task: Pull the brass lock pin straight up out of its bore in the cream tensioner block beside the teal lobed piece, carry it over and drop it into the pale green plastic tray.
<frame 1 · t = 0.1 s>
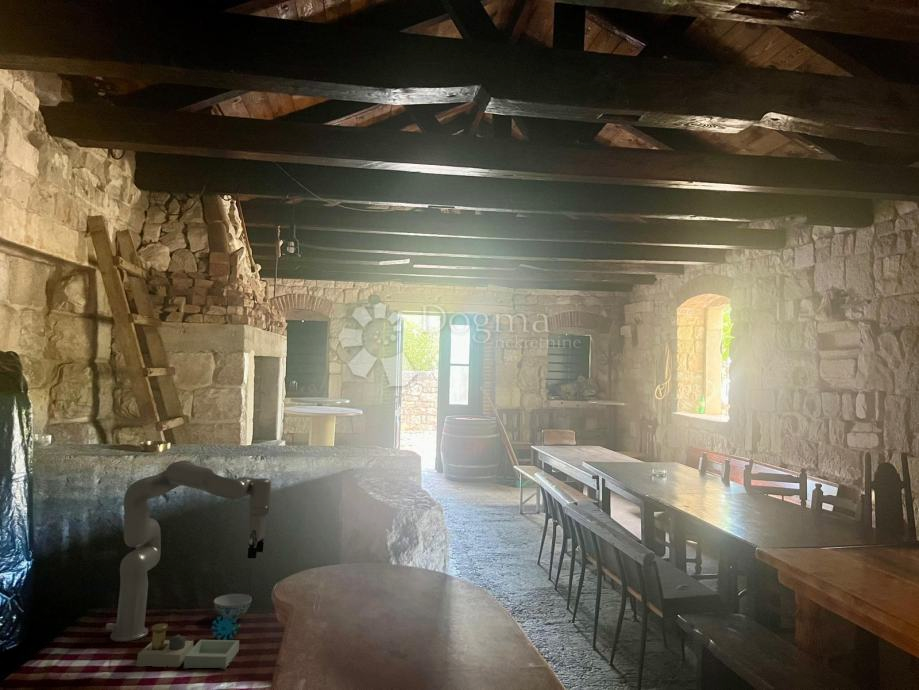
hand: (255, 554, 227), 31 cm above the table, tool pointing down, fingers open, 9 cm apart
tensioner: (165, 659, 202), on the table
tray: (212, 659, 203), on the table
teal lobed piece: (225, 638, 223), on the table
lock pin: (156, 659, 202), resting in tensioner
chinaware: (231, 619, 243), on the table
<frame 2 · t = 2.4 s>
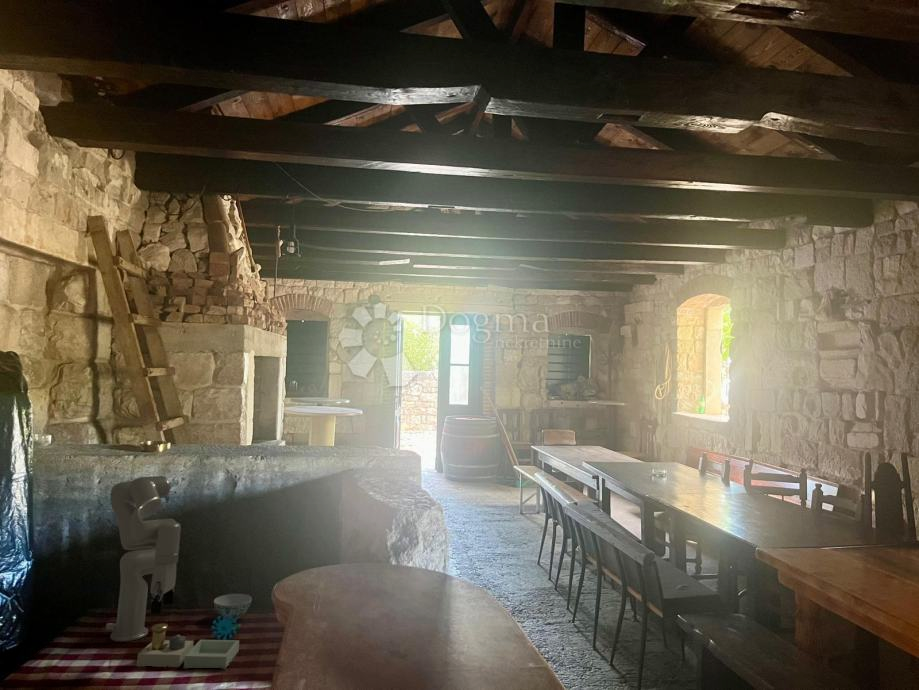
hand: (162, 608, 204), 17 cm above the table, tool pointing down, fingers open, 9 cm apart
nothing on the table moved.
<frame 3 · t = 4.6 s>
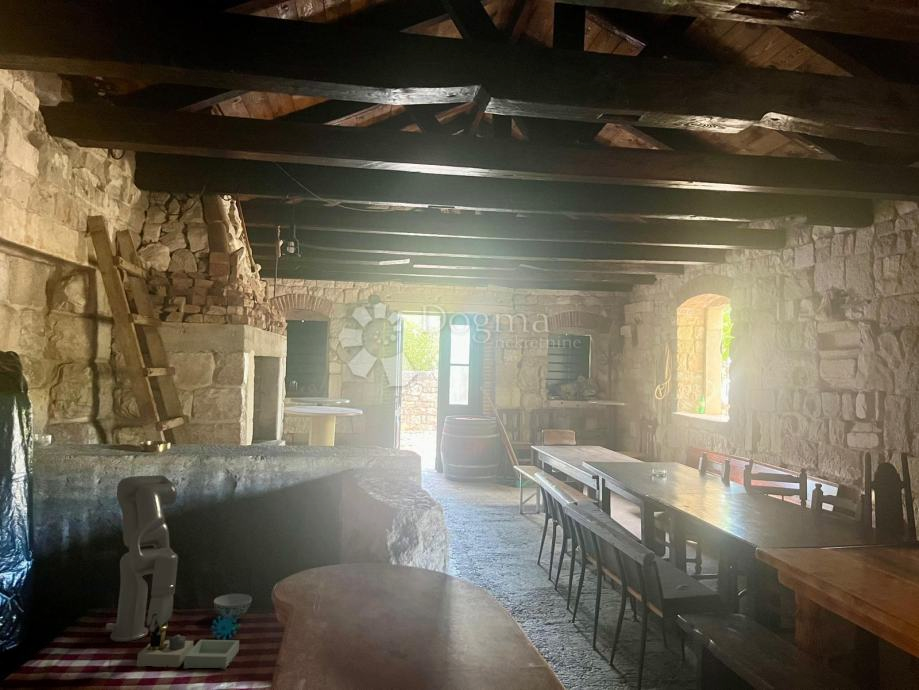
hand: (158, 643, 203), 5 cm above the table, tool pointing down, fingers closed on lock pin, 4 cm apart
lock pin: (156, 659, 202), resting in tensioner, touching gripper
everything else where it was.
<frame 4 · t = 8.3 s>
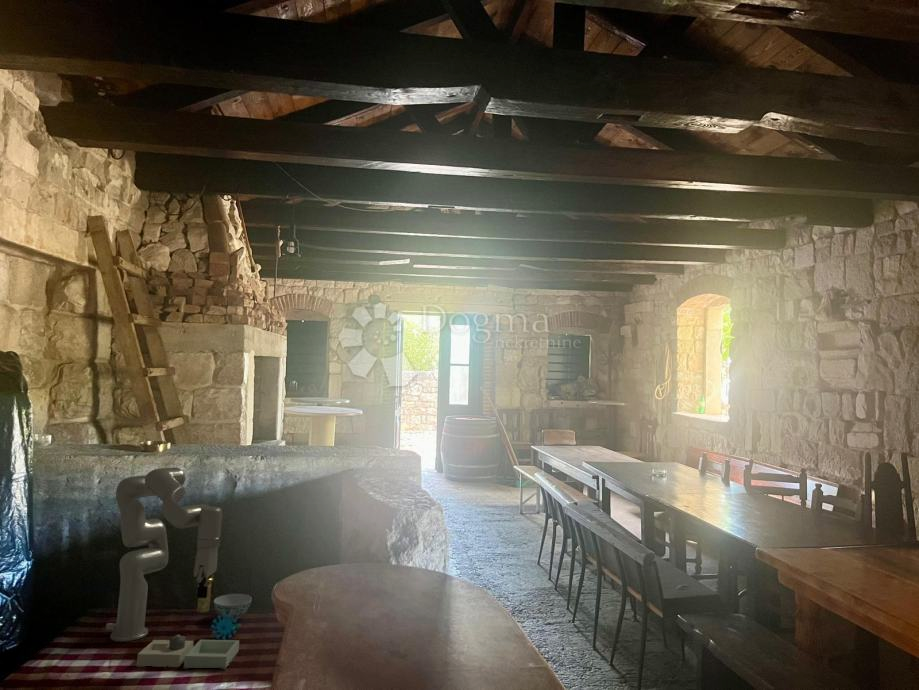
hand: (204, 595, 205), 22 cm above the table, tool pointing down, fingers closed on lock pin, 4 cm apart
lock pin: (203, 610, 205), point 17 cm above the table, touching gripper
everything else where it was.
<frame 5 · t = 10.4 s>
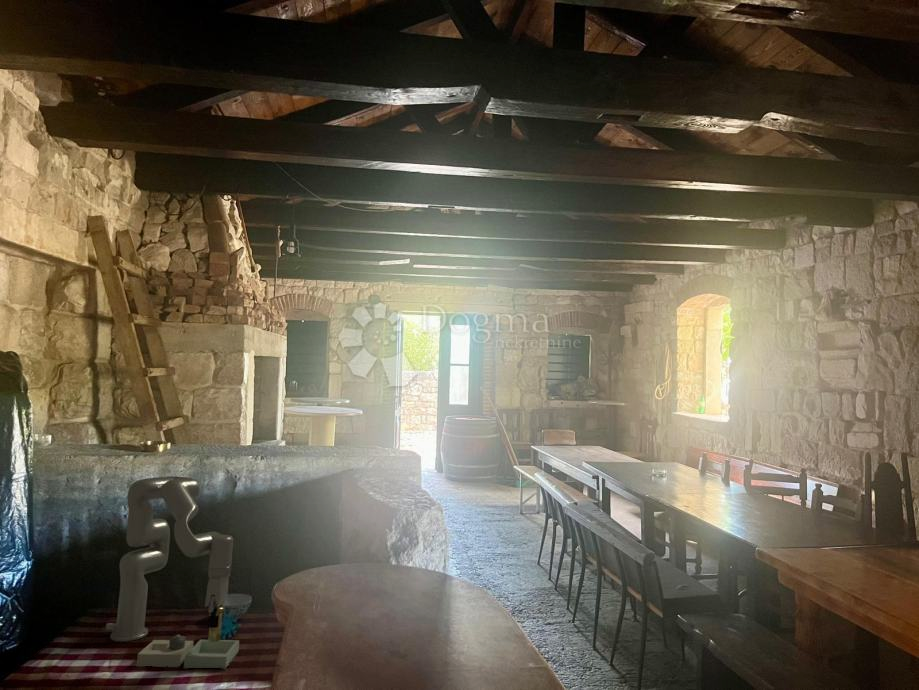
hand: (215, 624, 205), 12 cm above the table, tool pointing down, fingers closed on lock pin, 4 cm apart
lock pin: (214, 639, 204), point 7 cm above the table, touching gripper
when the fingers open (8 cm above the table, at t = 12.0 s): lock pin drops 2 cm, resting on tray.
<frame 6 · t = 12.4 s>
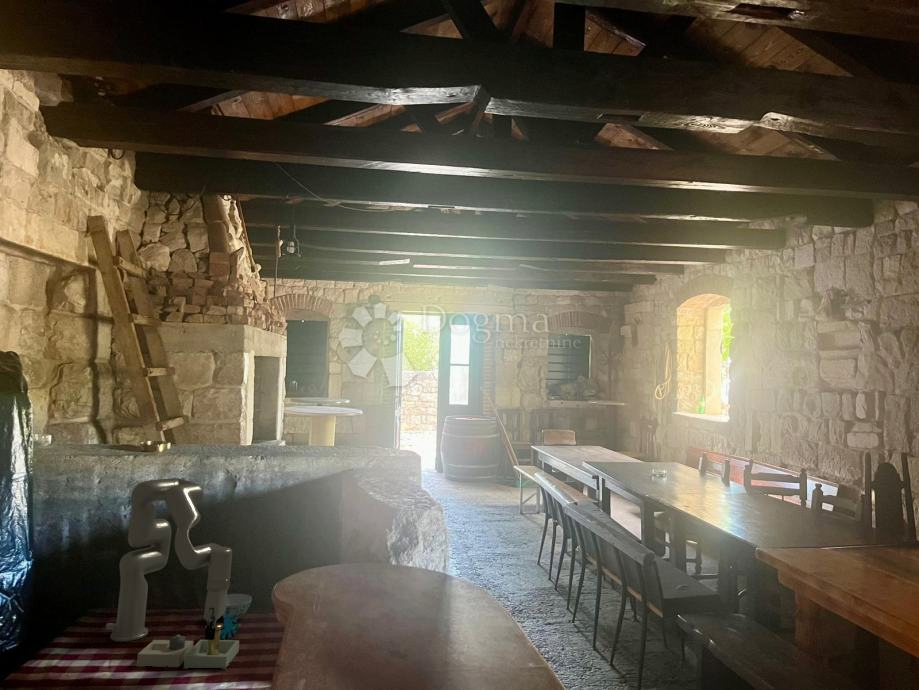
hand: (214, 634, 204), 9 cm above the table, tool pointing down, fingers open, 8 cm apart
lock pin: (212, 657, 204), point 1 cm above the table, touching tray
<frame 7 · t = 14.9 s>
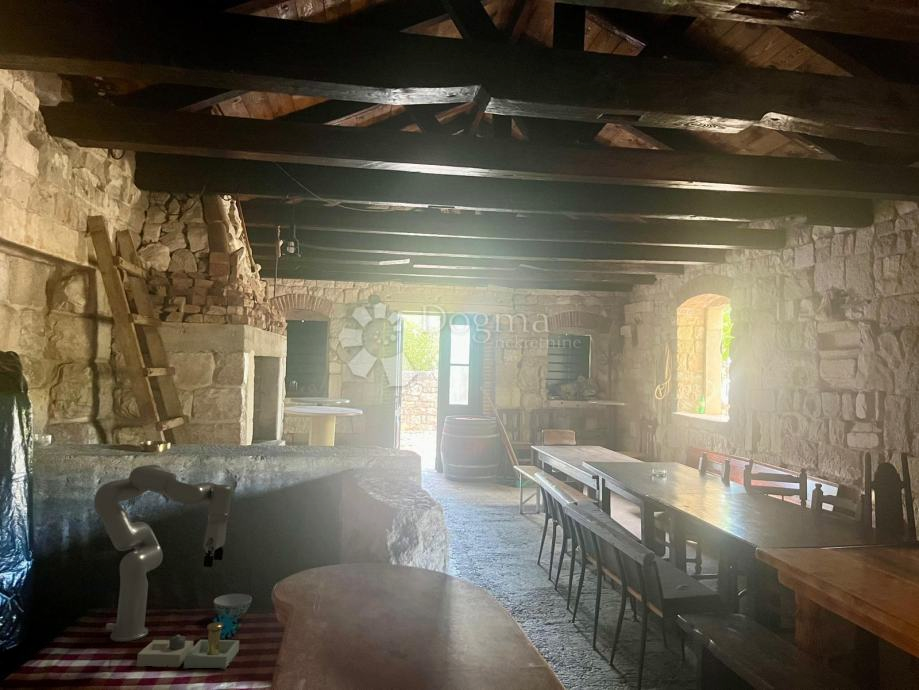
hand: (213, 563, 222), 29 cm above the table, tool pointing down, fingers open, 9 cm apart
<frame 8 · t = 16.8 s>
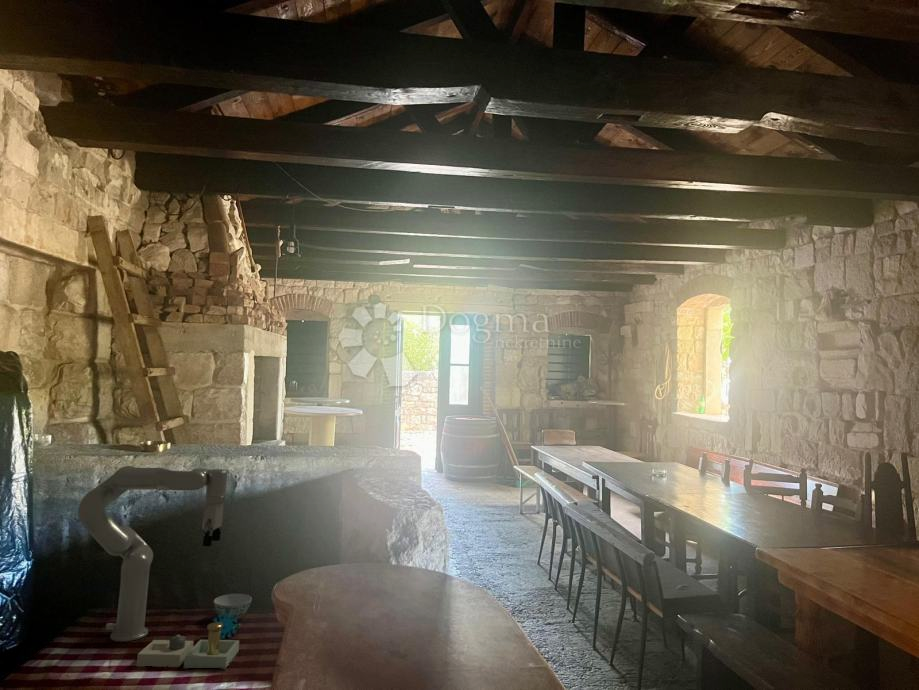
hand: (211, 543, 234), 33 cm above the table, tool pointing down, fingers open, 9 cm apart
at the end: lock pin inside the target area on the tray (0.2 cm from its centre), point 0.6 cm above the tray's base; the gripper is holding nothing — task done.
